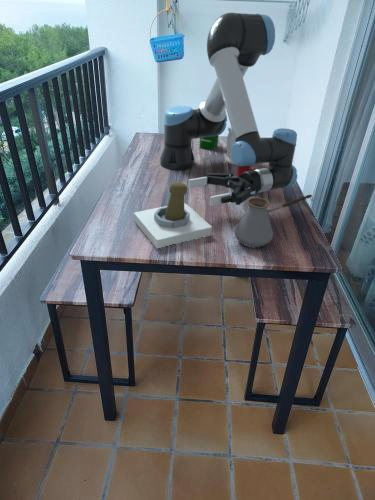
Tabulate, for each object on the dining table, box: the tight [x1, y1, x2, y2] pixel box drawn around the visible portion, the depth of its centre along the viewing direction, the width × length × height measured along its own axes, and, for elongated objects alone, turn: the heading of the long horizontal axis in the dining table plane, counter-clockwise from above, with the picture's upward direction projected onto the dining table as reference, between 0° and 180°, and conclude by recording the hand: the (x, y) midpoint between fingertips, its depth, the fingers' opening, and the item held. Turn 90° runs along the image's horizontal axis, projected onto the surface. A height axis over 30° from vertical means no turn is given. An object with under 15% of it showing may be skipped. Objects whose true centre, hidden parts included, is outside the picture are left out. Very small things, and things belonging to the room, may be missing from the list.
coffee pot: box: [233, 194, 314, 248], centre depth 104 cm, size 21×12×15 cm, turn 96°
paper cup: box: [236, 164, 256, 177], centre depth 138 cm, size 8×8×14 cm
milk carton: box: [199, 135, 220, 151], centre depth 175 cm, size 9×9×20 cm
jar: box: [226, 125, 237, 166], centre depth 160 cm, size 11×10×15 cm
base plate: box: [133, 202, 213, 250], centre depth 111 cm, size 18×18×5 cm
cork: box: [165, 181, 188, 221], centre depth 107 cm, size 6×6×11 cm
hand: (199, 192), depth 110 cm, fingers open, 13 cm apart
